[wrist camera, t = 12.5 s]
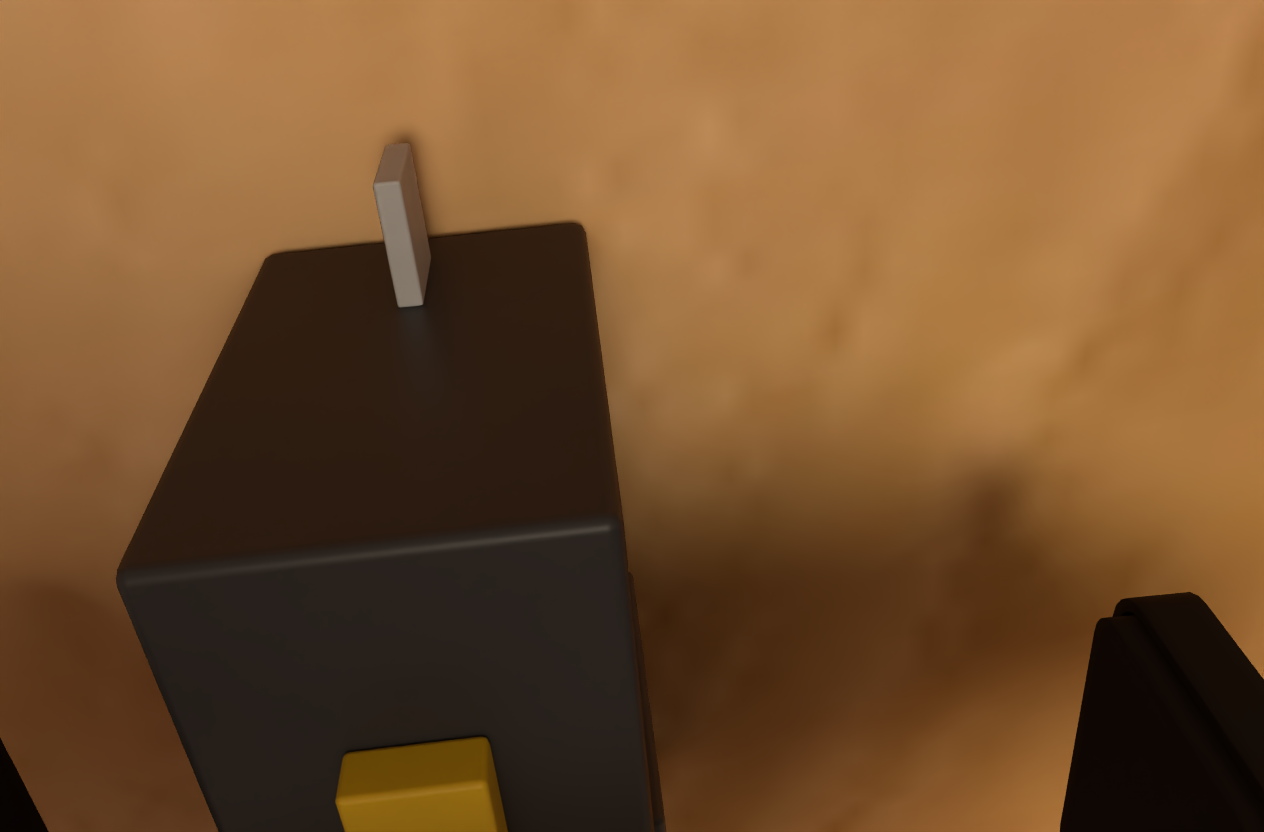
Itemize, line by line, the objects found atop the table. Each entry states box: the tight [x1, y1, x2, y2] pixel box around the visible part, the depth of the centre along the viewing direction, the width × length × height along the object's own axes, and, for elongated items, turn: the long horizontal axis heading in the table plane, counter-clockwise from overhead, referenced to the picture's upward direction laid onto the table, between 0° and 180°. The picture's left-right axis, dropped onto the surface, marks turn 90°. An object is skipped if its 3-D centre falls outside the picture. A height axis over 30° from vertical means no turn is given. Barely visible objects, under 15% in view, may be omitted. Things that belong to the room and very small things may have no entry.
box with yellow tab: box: [116, 143, 666, 832], centre depth 9 cm, size 3×8×5 cm, turn 4°
